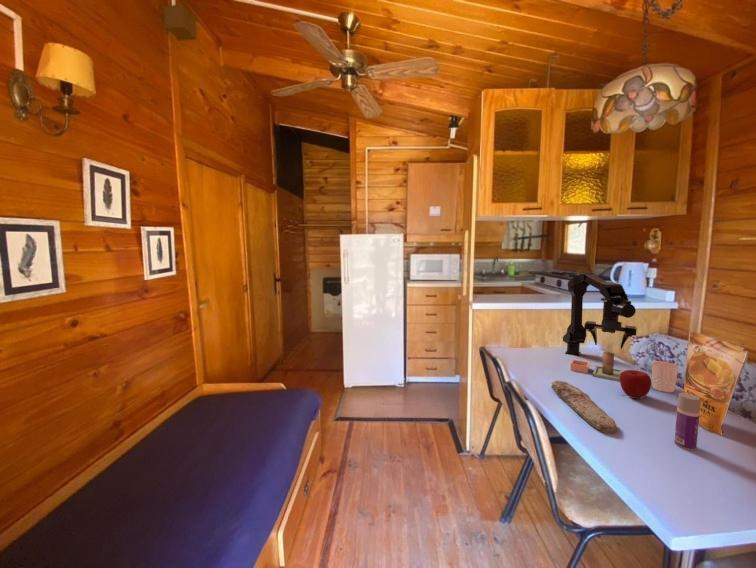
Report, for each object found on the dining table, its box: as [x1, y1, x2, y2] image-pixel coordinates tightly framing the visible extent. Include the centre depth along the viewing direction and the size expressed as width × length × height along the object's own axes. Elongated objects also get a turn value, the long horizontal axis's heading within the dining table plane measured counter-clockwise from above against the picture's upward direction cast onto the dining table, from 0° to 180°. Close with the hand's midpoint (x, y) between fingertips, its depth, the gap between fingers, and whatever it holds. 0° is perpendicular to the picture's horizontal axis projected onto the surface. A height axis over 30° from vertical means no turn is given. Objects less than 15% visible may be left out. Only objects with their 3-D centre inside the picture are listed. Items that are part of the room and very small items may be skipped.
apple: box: [619, 369, 652, 399], centre depth 127 cm, size 10×10×10 cm
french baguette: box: [551, 380, 618, 435], centre depth 120 cm, size 35×5×10 cm
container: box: [673, 392, 700, 451], centre depth 96 cm, size 5×5×15 cm
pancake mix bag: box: [683, 331, 749, 436], centre depth 107 cm, size 7×19×28 cm, turn 172°
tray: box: [592, 365, 623, 382], centre depth 147 cm, size 12×10×2 cm
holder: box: [569, 359, 591, 374], centre depth 154 cm, size 7×7×4 cm
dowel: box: [601, 351, 615, 375], centre depth 147 cm, size 4×4×9 cm
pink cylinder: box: [651, 360, 679, 393], centre depth 132 cm, size 8×8×10 cm
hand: (608, 346), depth 149 cm, fingers open, 9 cm apart
